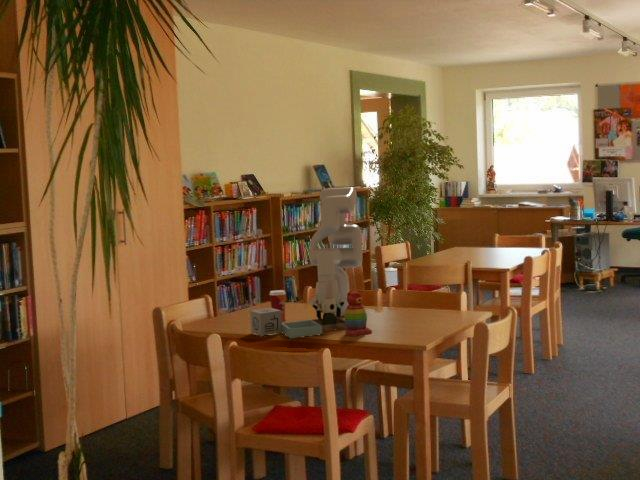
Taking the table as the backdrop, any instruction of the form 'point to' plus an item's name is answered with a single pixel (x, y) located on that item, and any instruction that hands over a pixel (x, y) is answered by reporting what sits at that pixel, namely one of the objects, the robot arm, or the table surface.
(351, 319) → the stacking bear
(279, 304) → the paper cup
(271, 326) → the icon cube
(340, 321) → the walnut corral
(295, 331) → the bin
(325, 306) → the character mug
